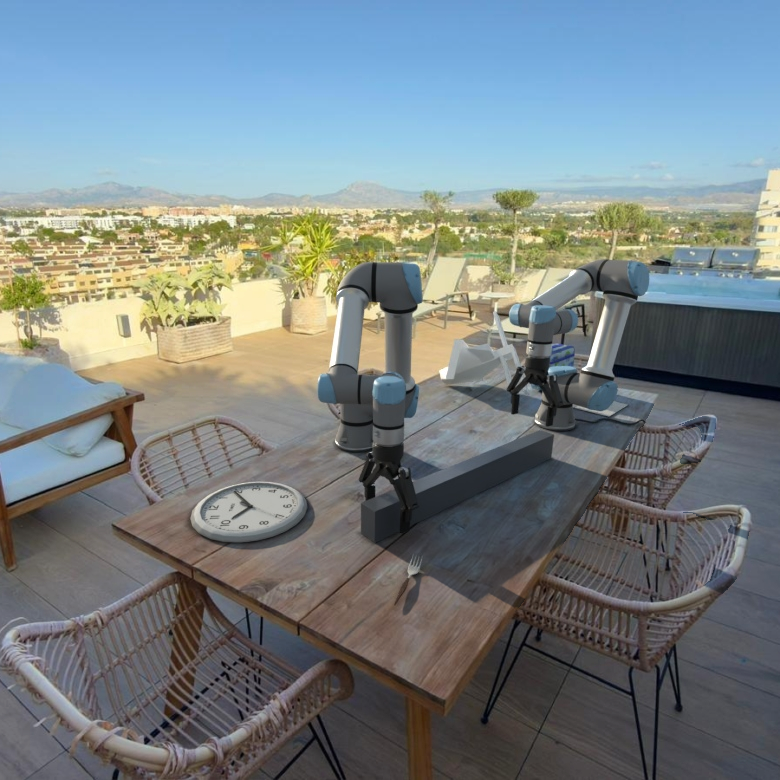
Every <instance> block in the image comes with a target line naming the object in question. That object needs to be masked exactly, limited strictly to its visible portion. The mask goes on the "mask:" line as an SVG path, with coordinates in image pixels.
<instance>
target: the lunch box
mask: <svg viewBox="0 0 780 780" xmlns="http://www.w3.org/2000/svg"><path fill="white" fill-rule="evenodd" d="M575 352H576V351H575V346H573V345H568V344H562V343H552V351H551V356H549V357H550V367H554V366H572V367H574V363H575ZM550 367H549V368H550ZM530 387H531V389H533V390H539V391H542V389H541V388H540V387H539V386H536V385H534V384H530Z"/></svg>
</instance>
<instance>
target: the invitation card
mask: <svg viewBox="0 0 780 780" xmlns="http://www.w3.org/2000/svg"><path fill="white" fill-rule="evenodd" d="M628 406H629V404H627V403H623V402H618V401H614V402H613V403H612V404H611V406H610V407H609V408H607V409H606V410H604V411H596V410H589V409H588V408H584V407H581V406H578V405H575V406H574V407H573V409H575V410H581V411H584V412H587V413H593V414H596V415H600V416H604V417H607V418H610V417H611V416H613V415H614V414H616V413H617V412H619V411H621V410H623V409H624V408H626V407H628Z"/></svg>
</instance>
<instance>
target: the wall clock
mask: <svg viewBox="0 0 780 780" xmlns="http://www.w3.org/2000/svg"><path fill="white" fill-rule="evenodd" d="M307 503H308V502H307V499H306V498H305V496H304V495H303V493H301V492H300V491H298V490H297V489H295V488H294V487H291V486H289V485H286V484H283V483H280V482H279V483H278V482H272V481H249V482H248V481H247V482H242V483H238V484H232V485H229V486H226V487H223V488H220V489H218V490H216V491H213V492H211V493H210V494H208V495H207V496H205V497H204V498H202V499H201V500H200V501H199V502H198V503H197V504H196V505H195V507H194V508H193V509H192V511H191V515H190V523H191V526H192V528H193V529H194V531H196V532H197V533H198V534H199V535H201V536H203V537H205V538H208V539H210V540H214V541H218V542H222V543H239V544H240V543H249V542H256V541H262V540H265V539H269V538H274V537H276V536H278V535H280V534H282V533H286V532H287V531H289V530H290V529H292V528H293V527H295V526H296V525H298V524H299V523H300V522H301V521H302V519H303V518H304V517H305V516H306V513H307V510H308V504H307Z"/></svg>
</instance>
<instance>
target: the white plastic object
mask: <svg viewBox="0 0 780 780" xmlns="http://www.w3.org/2000/svg"><path fill="white" fill-rule="evenodd" d="M492 315H493V319H494V321H495V324H496V325H495V326H496V328H497V332H498V335H499V338H500V342H501V345H502V347H500V348H498V349H496V350H495V349H493V348H492V347H491V346H490V344H489V343H488V342H487V343H483V344H479V345H473V346H469V345H468V343H466V342H465V340H464V339H463V338H460V339H458V338H454V340H453V344H452V349H451V353H450V357H449V362H448V366H446V367H444V368H442V369H440V370H439V371H438V372H439V376H440V381H442V383H443V384H444V385H445V386H449V385H458V384H467V383H468V384H469V383H473V384H477V383H480V382H482V381H484V378H485V377H486V376H487V375H489V374H490V373H492V372H494V371H495V370H496V369H497V368H499V367H500V366H502V370H503V373H504V376H505V380H506V383H507V387H508V386H509V384H510V382H511V380H512V379H513V377H512V375H511V371H510V369H509V365H508V361H510V360H513V363H514V366H515V369H517V367H520V366H522V365H521V362H520V359H519V355H518V352H517V349H516V347H515V346H514V345H513V343H511V344H508V341H507V337H506V334H505V331H504V328H503V325H502V321H501V318H500V315H499V314H498V312H497V311H496V310H495V311H492ZM524 378H525V374H523V375H522V377H521V378H520V380H519V383H520V382H521V381H522V380H523V379H524ZM528 387H529V386H528V384H527V385H526V386H525V387H524V388H523V389H522V391H523V393H524V395H525V396H526V397H528V396H531V395H530V390H529V388H528Z"/></svg>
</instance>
